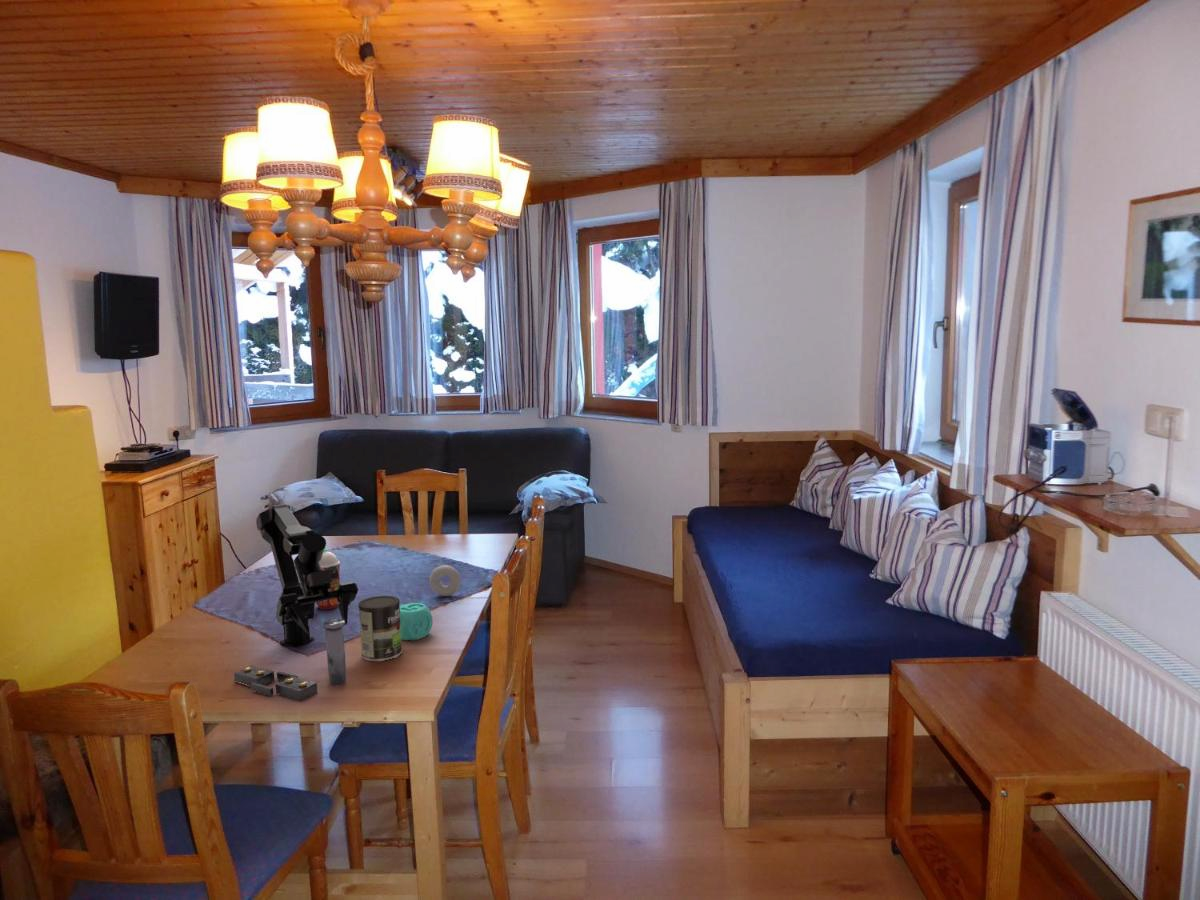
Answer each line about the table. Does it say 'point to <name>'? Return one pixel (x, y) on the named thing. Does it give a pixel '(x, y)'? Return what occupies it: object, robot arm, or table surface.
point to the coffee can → (380, 628)
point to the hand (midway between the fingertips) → (327, 628)
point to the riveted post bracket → (287, 687)
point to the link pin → (335, 651)
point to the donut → (451, 574)
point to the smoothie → (326, 562)
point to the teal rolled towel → (415, 621)
